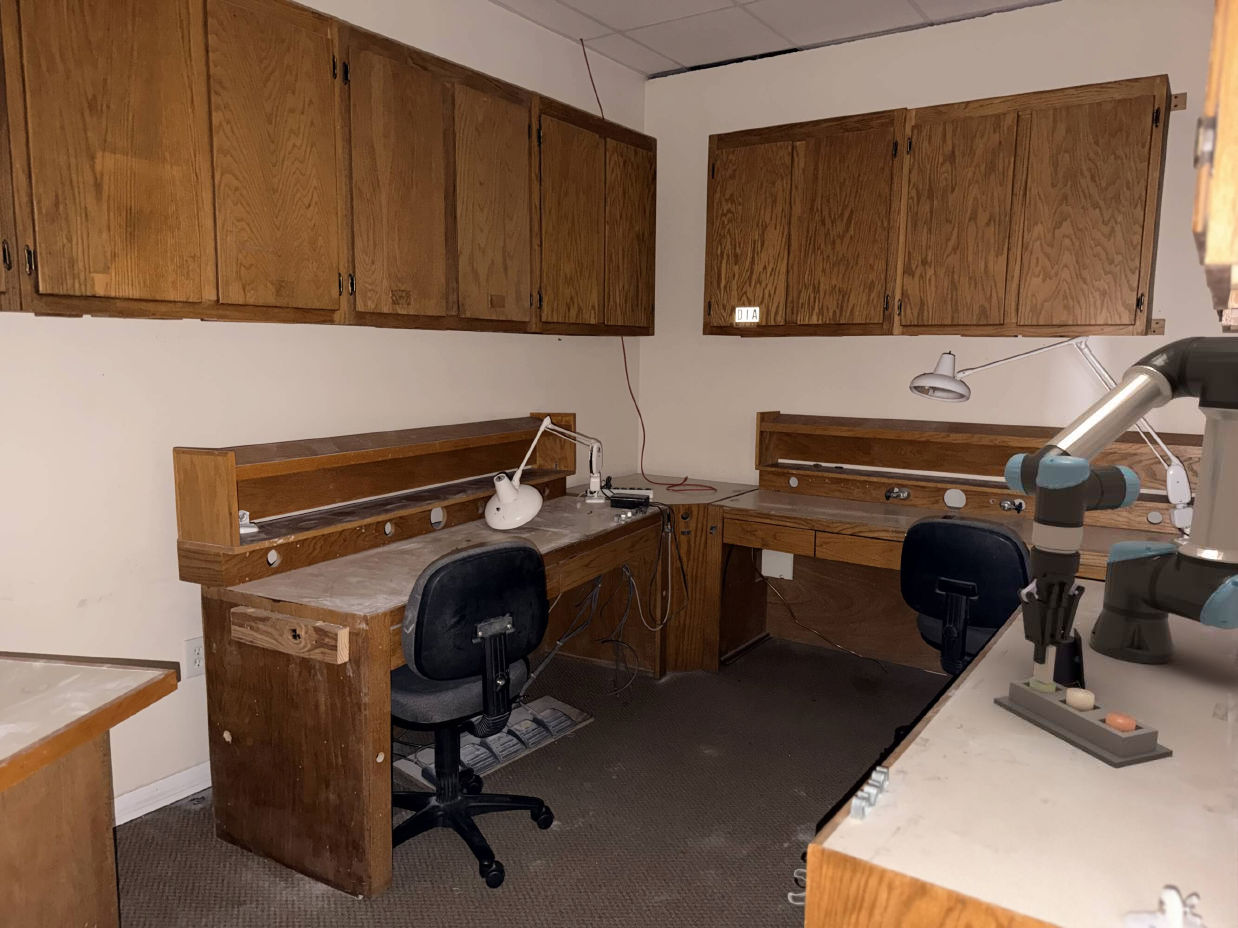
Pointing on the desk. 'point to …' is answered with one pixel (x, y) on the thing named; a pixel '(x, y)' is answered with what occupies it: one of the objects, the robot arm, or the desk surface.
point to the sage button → (1042, 686)
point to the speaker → (1070, 662)
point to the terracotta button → (1120, 722)
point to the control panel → (1083, 725)
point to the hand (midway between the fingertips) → (1042, 680)
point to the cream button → (1080, 699)
